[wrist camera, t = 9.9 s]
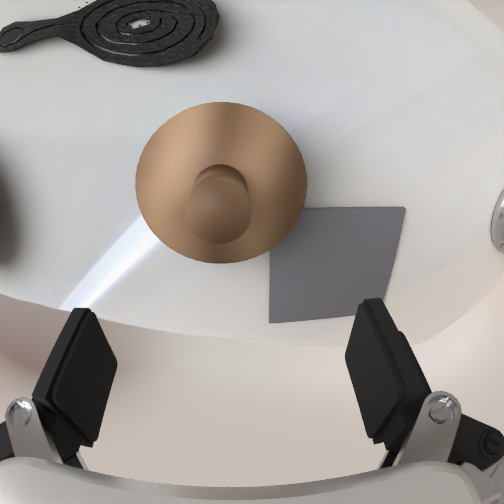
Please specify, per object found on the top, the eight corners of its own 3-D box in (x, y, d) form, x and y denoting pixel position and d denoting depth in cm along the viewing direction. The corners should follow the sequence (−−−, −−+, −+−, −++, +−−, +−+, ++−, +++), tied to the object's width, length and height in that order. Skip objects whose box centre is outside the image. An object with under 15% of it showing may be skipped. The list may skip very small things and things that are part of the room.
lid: (305, 100, 20) (327, 106, 15) (300, 252, 27) (315, 291, 22) (128, 113, 20) (99, 124, 15) (154, 261, 26) (140, 301, 22)
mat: (403, 206, 31) (405, 208, 30) (378, 309, 39) (379, 311, 38) (270, 209, 30) (270, 211, 30) (269, 320, 38) (269, 323, 37)
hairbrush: (-10, 7, 12) (227, -22, 15) (10, 9, 16) (229, -10, 19) (-23, 79, 17) (204, 71, 20) (-2, 75, 20) (210, 73, 23)
